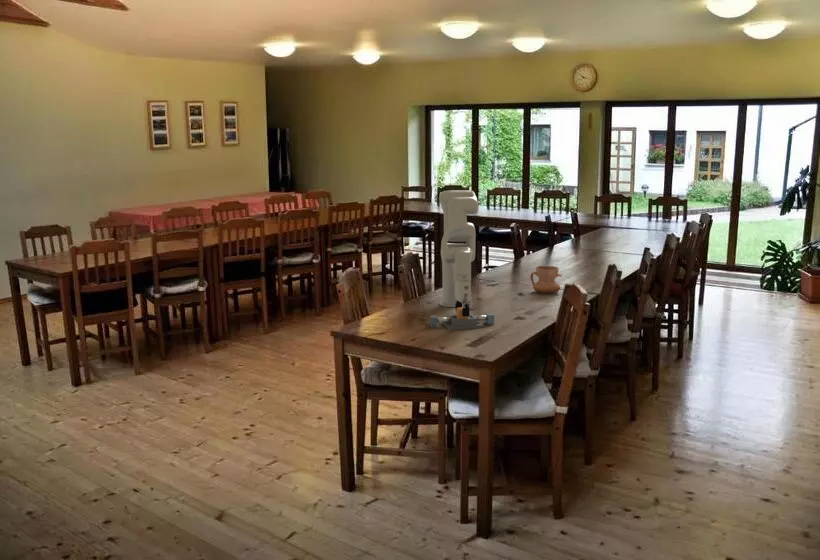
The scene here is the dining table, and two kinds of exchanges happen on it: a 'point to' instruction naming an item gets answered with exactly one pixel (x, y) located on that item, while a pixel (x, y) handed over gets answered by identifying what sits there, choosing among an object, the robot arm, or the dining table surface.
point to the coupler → (460, 314)
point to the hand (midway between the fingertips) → (462, 313)
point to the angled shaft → (438, 320)
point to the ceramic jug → (546, 279)
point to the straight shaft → (486, 318)
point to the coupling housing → (462, 323)
